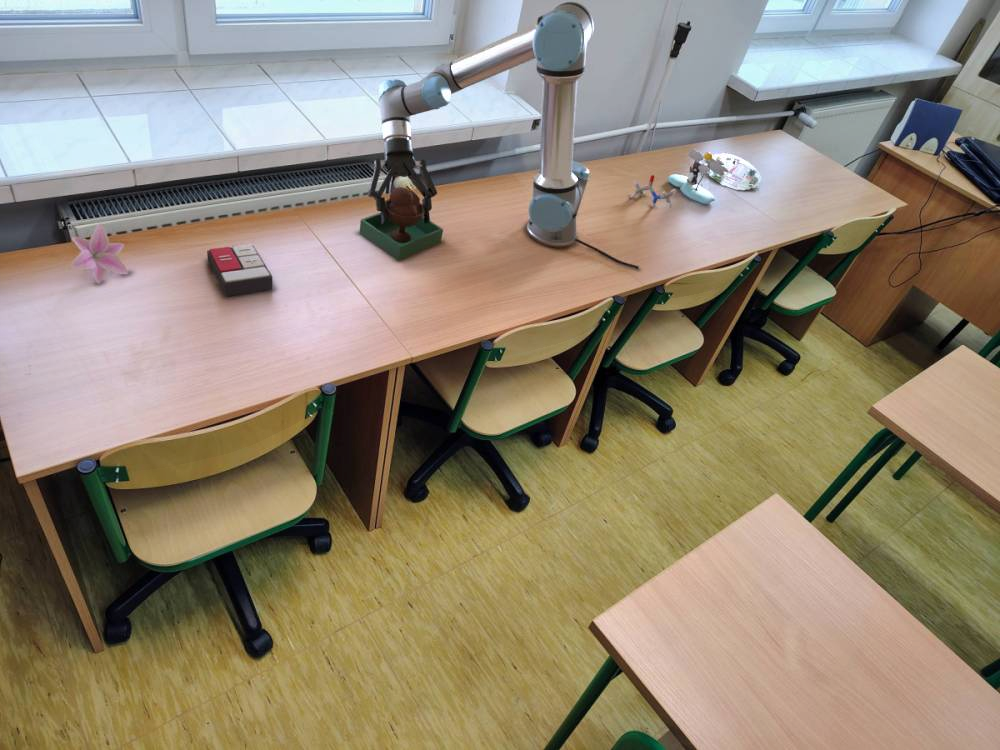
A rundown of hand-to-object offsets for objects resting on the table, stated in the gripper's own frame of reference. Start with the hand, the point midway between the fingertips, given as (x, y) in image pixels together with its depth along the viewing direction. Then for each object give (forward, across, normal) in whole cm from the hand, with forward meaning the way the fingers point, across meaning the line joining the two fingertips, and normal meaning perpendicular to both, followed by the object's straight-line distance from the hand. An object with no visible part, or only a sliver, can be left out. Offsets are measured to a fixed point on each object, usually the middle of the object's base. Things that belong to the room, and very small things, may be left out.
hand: (406, 222), depth 190 cm
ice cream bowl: (+3, 0, -6) cm, 7 cm away
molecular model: (-9, -92, -19) cm, 95 cm away
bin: (+3, 0, -7) cm, 7 cm away
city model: (-24, -142, -34) cm, 148 cm away
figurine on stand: (-15, -115, -25) cm, 119 cm away
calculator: (+13, +44, +4) cm, 46 cm away
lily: (+11, +73, +1) cm, 73 cm away
